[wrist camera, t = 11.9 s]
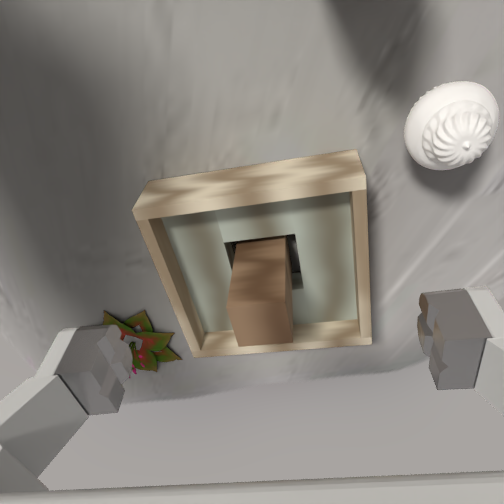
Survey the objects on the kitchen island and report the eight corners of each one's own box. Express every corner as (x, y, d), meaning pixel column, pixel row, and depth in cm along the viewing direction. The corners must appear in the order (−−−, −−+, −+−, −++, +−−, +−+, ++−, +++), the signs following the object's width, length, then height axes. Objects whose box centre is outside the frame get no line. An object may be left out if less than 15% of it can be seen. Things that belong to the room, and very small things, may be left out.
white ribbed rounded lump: (426, 53, 29) (460, 79, 23) (497, 89, 30) (546, 122, 24) (378, 132, 33) (397, 171, 27) (443, 161, 34) (474, 204, 28)
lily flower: (199, 360, 52) (193, 392, 48) (119, 377, 55) (108, 408, 51) (151, 293, 45) (139, 323, 42) (64, 317, 49) (46, 347, 45)
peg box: (201, 322, 47) (193, 357, 43) (148, 181, 36) (131, 210, 32) (364, 307, 44) (371, 344, 40) (356, 149, 33) (365, 176, 29)
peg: (247, 270, 42) (238, 346, 34) (238, 233, 39) (226, 307, 31) (291, 265, 41) (293, 342, 33) (285, 227, 38) (285, 301, 30)
